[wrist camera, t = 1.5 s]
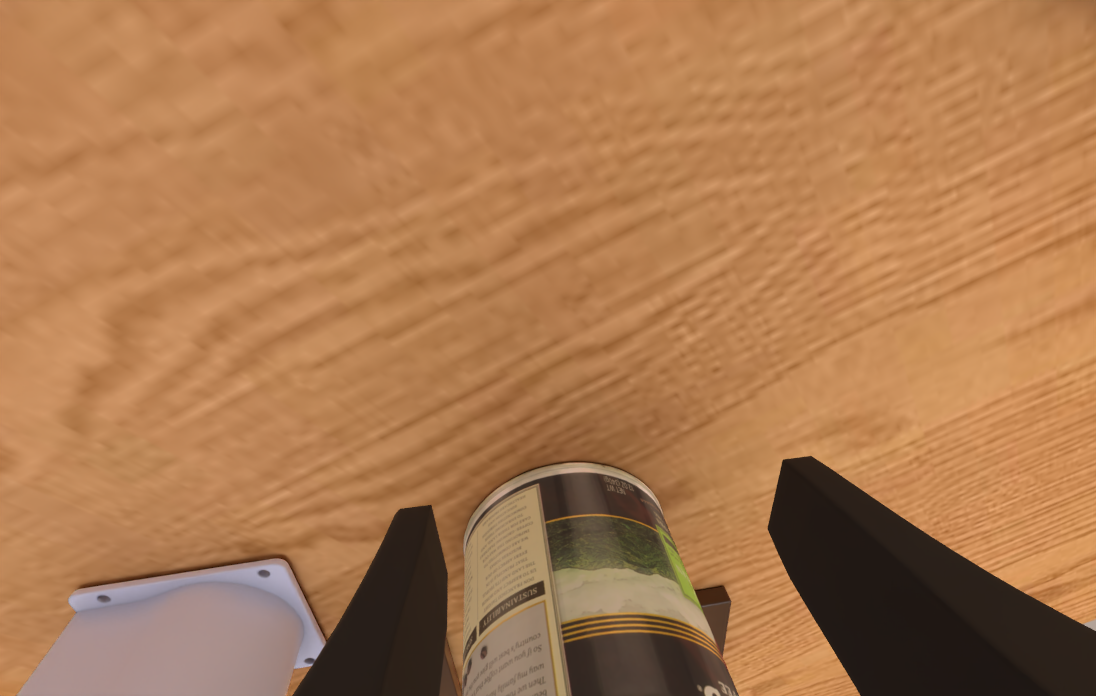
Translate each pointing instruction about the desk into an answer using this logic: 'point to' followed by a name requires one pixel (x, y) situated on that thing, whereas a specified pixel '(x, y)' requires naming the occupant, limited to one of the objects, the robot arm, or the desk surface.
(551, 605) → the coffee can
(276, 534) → the desk surface
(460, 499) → the desk surface
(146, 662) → the robot arm
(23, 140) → the desk surface
